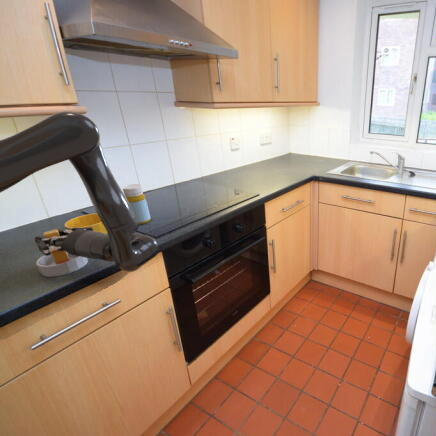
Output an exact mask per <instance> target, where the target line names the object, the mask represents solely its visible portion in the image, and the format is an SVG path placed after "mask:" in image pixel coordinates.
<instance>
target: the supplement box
mask: <svg viewBox="0 0 436 436" xmlns="http://www.w3.org/2000/svg"><path fill="white" fill-rule="evenodd" d="M58 230H59V229H57V228H55V229H51V230H48V231H43V237H46V238H51V237H53V236H60V234H59V232H58ZM50 244H51V243H50ZM51 254H52V256H53V258H54V261H55V263H56V265H57V264H61V263H65V262H68V261H70V259H69V257H68V254H67V252H66V251H58V250H55V251H52V252H51Z"/></svg>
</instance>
